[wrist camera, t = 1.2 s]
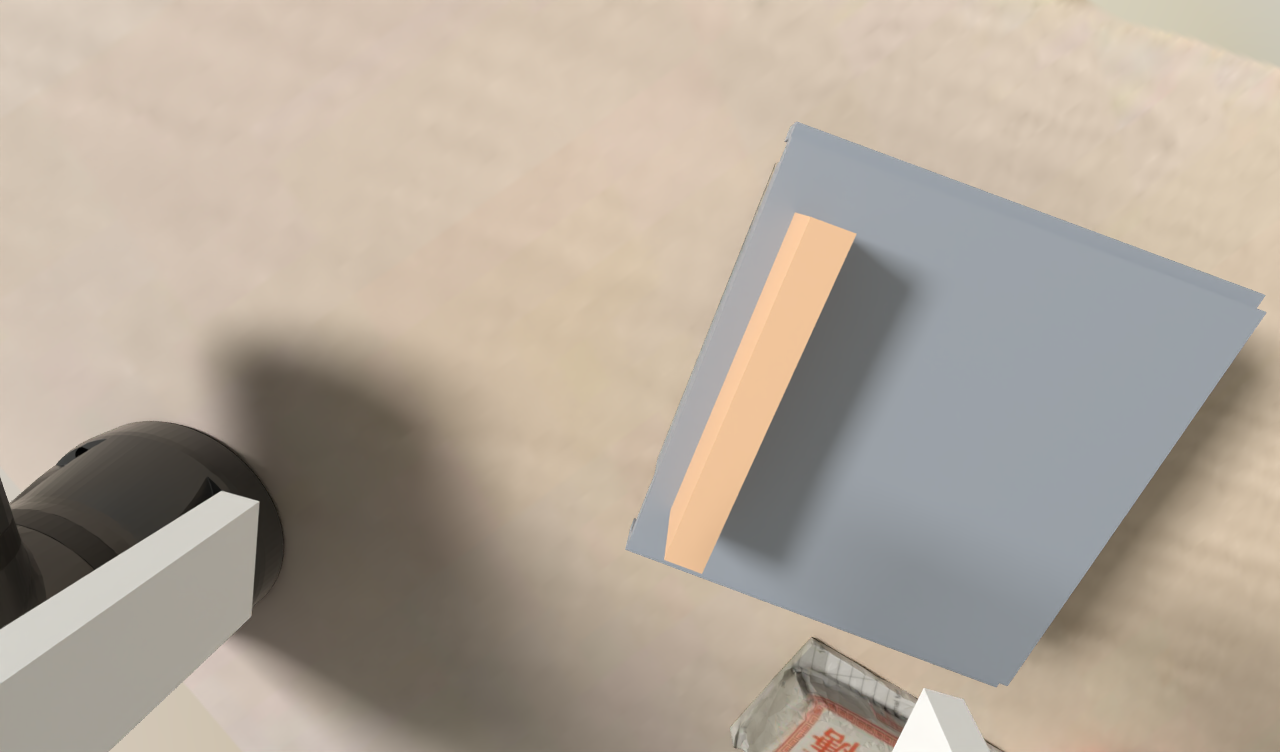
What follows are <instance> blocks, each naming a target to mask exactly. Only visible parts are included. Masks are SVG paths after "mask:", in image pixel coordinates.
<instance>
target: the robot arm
mask: <svg viewBox="0 0 1280 752" xmlns="http://www.w3.org/2000/svg"><path fill="white" fill-rule="evenodd" d="M282 559H283V534H282V528H281V524H280V520H279V517H278V514H277V511H276V509H275V506H274V504H273V502H272V500H271V498H270V496H269V494H268V493H267V491H266V489H265V488H264V486H263V485H262V483H261V482H260V481H259V479H258V478H257V477H256V475H255V474H254V473H253V472H252V471H251V469H250V468H249V467H248V466H247V465H246V464H245V463H244V462H243V461H242V460H241V459H240V458H238V457H237V456H236V455H235V454H234V453H233V452H231V451H230V450H229V449H227V448H226V447H225V446H223V445H222V444H220V443H219V442H217V441H215V440H214V439H212V438H210V437H208V436H206V435H204V434H202V433H200V432H198V431H195V430H193V429H190V428H187V427H184V426H181V425H177V424H172V423H167V422H158V421H143V422H135V423H130V424H126V425H123V426H120V427H118V428H115V429H113V430H110V431H108V432H105V433H103V434H100V435H98V436H96V437H93V438H91V439H89V440H87V441H85V442H83V443H81V444H79V445H78V446H76V447H75V448H73V449H72V450H71V451H70V452H68V453H67V454H66V455H65V456H64V457H63V458H62V459H61V460H60V461H59V462H58V463H57V464H56V465H55V466H54V467H52V468H51V469H50V470H48V471H47V472H46V473H44V474H43V475H42V476H41V477H39V478H38V479H37V480H36V481H35V482H33V483H32V484H31V485H30V486H29V487H28V488H26V489H25V490H24V491H23V492H22V493H21V494H20V495H18V496H17V497H16V498H15V499H14V500H13V501H12V502H10V503H9V502H8V499H7V496H6V493H5V491H4V487H3V484H2V482H1V478H0V752H109V751H110V750H111V749H112V748H113V747H114V746H115V745H116V744H117V743H118V742H119V741H121V740H122V739H123V738H124V737H125V736H126V735H127V734H128V733H129V732H130V731H131V730H132V729H133V728H134V727H135V726H136V725H137V724H138V723H140V722H141V721H142V720H143V719H144V718H145V717H146V716H147V715H148V714H149V713H150V712H151V711H152V710H153V709H154V708H155V707H156V706H157V705H159V704H160V703H161V702H162V701H163V700H164V699H165V698H166V697H167V696H168V695H169V694H170V693H171V692H172V691H173V690H174V689H175V688H177V687H178V686H179V685H180V684H181V683H182V682H183V681H184V680H185V679H186V678H187V677H188V676H189V675H190V674H191V673H192V672H193V671H194V670H196V669H197V668H198V667H199V666H200V665H201V664H202V663H203V662H204V661H205V660H206V659H207V658H208V657H209V656H210V655H211V654H212V653H214V652H215V651H216V650H217V649H218V648H219V647H220V646H221V645H222V644H223V643H224V642H225V641H226V640H227V639H228V638H229V637H230V636H231V635H233V634H234V633H235V632H236V631H237V630H238V629H239V628H240V627H241V626H242V625H243V624H244V623H245V622H246V621H247V620H248V619H249V618H250V617H251V616H252V607H253V606H254V605H255V604H256V603H257V602H258V601H260V600H261V599H262V598H263V597H264V596H265V595H266V594H267V593H268V591H269V590H270V589H271V587H272V586H273V584H274V583H275V581H276V579H277V577H278V574H279V571H280V569H281V565H282ZM892 752H990V750H989V748H988V746H987V744H986V742H985V740H984V738H983V736H982V734H981V732H980V731H979V729H978V727H977V725H976V723H975V721H974V719H973V717H972V715H971V713H970V711H969V709H968V707H967V705H966V703H965V701H964V699H961V698H958V697H954V696H951V695H947V694H944V693H940V692H936V691H933V690H929V689H926V688H924V689H923V691H922V693H921V695H920V697H919V699H918V701H917V703H916V705H915V707H914V709H913V711H912V713H911V715H910V717H909V719H908V721H907V723H906V725H905V727H904V729H903V731H902V733H901V735H900V737H899V739H898V741H897V743H896V745H895V747H894V749H893V751H892Z"/></svg>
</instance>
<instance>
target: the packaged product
mask: <svg viewBox="0 0 1280 752" xmlns="http://www.w3.org/2000/svg"><path fill="white" fill-rule="evenodd" d="M917 701H918V699H916V698H915V697H914V696H912V695H911V694H909V693H907V692H906V691H904V690H902V689H900V688H899V687H897V686H896V685H893V684H891V683H889V682H887V681H885V680H883V679H881V678H879V677H877V676H875V675H874V674H872V673H871V672H869V671H868V670H866V669H865V668H863V667H861V666H860V665H858V664H857V663H855V662H853V661H852V660H850V659H848V658H846V657H845V656H843V655H841V654H840V653H838V652H836V651H835V650H833V649H831V648H830V647H828V646H826V645H825V644H823V643H821V642H819V641H817V640H815V639H813V638H812V637H811V638H810V639H809V640H808V641H807V642H806V644H805V645H804V646H803V647H802V648H801V649H800V650H799V651H798V652H797V653H796V654H795V655H794V657H793V658H792V659H791V660H790V661H789V662H788V663H787V664H786V665H785V666H784V667H783V669H782V670H781V671H780V672H779V673H778V674H777V675H776V676H775V677H774V678H773V679H772V681H771V682H770V683H769V684H768V685H767V687H766V688H765V689H764V690H763V691H762V692H761V693H760V694H759V696H758V697H757V698H756V699H755V700H754V701H753V702H752V703H751V704H750V705H749V706H748V708H747V709H746V710H745V711H744V712H743V713H742V714H741V716H740V717H739V718H738V719H737V720H736V721H735V722H734V723H733V725H732V726H731V727H730V731H731V737H732V742H733V748H738V749H742V750H743V751H744V752H892V751H893V749H894V747H895V745H896V743H897V741H898V739H899V737H900V735H901V733H902V731H903V729H904V727H905V725H906V723H907V721H908V719H909V717H910V715H911V713H912V711H913V709H914V707H915V705H916V703H917ZM986 744H987V746H988V748H989V750H990V752H1003V751H1001V750H999V749H997V748H995V747H994V746H992V745H990V744H988V743H987V742H986Z"/></svg>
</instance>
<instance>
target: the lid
mask: <svg viewBox="0 0 1280 752" xmlns="http://www.w3.org/2000/svg"><path fill="white" fill-rule="evenodd" d="M785 142H787V145H786V147H785V150H784V152H783V155H782V157H781V160H780V162H779V165H778V167H777V170H776V172H775V175H774V177H773V180H772V182H771V185H770V187H769V190H768V192H767V195H766V197H765V200H764V202H763V205H762V207H761V210H760V212H759V215H758V217H757V220H756V222H755V225H754V227H753V230H752V232H751V235H750V237H749V240H748V242H747V245H746V247H745V250H744V252H743V255H742V257H741V260H740V262H739V265H738V267H737V270H736V272H735V275H734V277H733V280H732V282H731V285H730V287H729V290H728V292H727V295H726V297H725V300H724V302H723V305H722V307H721V310H720V312H719V315H718V317H717V320H716V322H715V325H714V327H713V329H712V332H711V334H710V337H709V339H708V342H707V344H706V347H705V349H704V352H703V354H702V357H701V359H700V362H699V364H698V367H697V369H696V372H695V374H694V377H693V379H692V382H691V384H690V387H689V389H688V392H687V394H686V397H685V399H684V402H683V404H682V407H681V409H680V412H679V414H678V417H677V419H676V422H675V424H674V427H673V429H672V432H671V434H670V437H669V439H668V442H667V444H666V447H665V449H664V452H663V454H662V457H661V459H660V462H659V464H658V467H657V469H656V472H655V474H654V477H653V479H652V482H651V484H650V487H649V489H648V492H647V494H646V497H645V499H644V502H643V504H642V507H641V509H640V512H639V514H638V517H637V519H635V518H634V520H633V523H632V525H631V528H630V532H629V536H628V540H627V545H626V549H625V550H628V551H630V552H633V553H636V554H639V555H641V556H644V557H647V558H649V559H652V560H655V561H657V562H660V563H663V564H665V565H668V566H671V567H673V568H676V569H679V570H682V571H684V572H687V573H690V574H692V575H695V576H698V577H700V578H703V579H706V580H708V581H711V582H714V583H717V584H719V585H722V586H725V587H727V588H730V589H733V590H735V591H738V592H741V593H743V594H746V595H749V596H752V597H754V598H757V599H760V600H762V601H765V602H768V603H770V604H773V605H776V606H778V607H781V608H784V609H786V610H789V611H792V612H795V613H797V614H800V615H803V616H805V617H808V618H811V619H813V620H816V621H819V622H821V623H824V624H827V625H830V626H832V627H835V628H838V629H840V630H843V631H846V632H848V633H851V634H854V635H856V636H859V637H862V638H864V639H867V640H870V641H873V642H875V643H878V644H881V645H883V646H886V647H889V648H891V649H894V650H897V651H899V652H902V653H905V654H908V655H910V656H913V657H916V658H918V659H921V660H924V661H926V662H929V663H932V664H934V665H937V666H940V667H943V668H945V669H948V670H951V671H953V672H956V673H959V674H961V675H964V676H967V677H969V678H972V679H975V680H977V681H980V682H983V683H986V684H988V685H991V686H994V687H997V686H998V684H999V683H1000V684H1003V685H1006V686H1008V685H1009V683H1010V682H1011V680H1012V679H1013V677H1014V676H1015V675H1016V673H1017V672H1018V670H1019V669H1020V667H1021V666H1022V664H1023V663H1024V662H1025V660H1026V659H1027V657H1028V656H1029V654H1030V653H1031V651H1032V650H1033V649H1034V647H1035V646H1036V644H1037V643H1038V641H1039V640H1040V639H1041V637H1042V636H1043V634H1044V633H1045V631H1046V630H1047V628H1048V627H1049V626H1050V624H1051V623H1052V621H1053V620H1054V618H1055V617H1056V615H1057V614H1058V613H1059V611H1060V610H1061V608H1062V607H1063V605H1064V604H1065V602H1066V601H1067V600H1068V598H1069V597H1070V595H1071V594H1072V592H1073V591H1074V589H1075V588H1076V587H1077V585H1078V584H1079V582H1080V581H1081V579H1082V578H1083V577H1084V575H1085V574H1086V572H1087V571H1088V569H1089V568H1090V566H1091V565H1092V564H1093V562H1094V561H1095V559H1096V558H1097V556H1098V555H1099V553H1100V552H1101V551H1102V549H1103V548H1104V546H1105V545H1106V543H1107V542H1108V540H1109V539H1110V538H1111V536H1112V535H1113V533H1114V532H1115V530H1116V529H1117V527H1118V526H1119V525H1120V523H1121V522H1122V520H1123V519H1124V517H1125V516H1126V515H1127V513H1128V512H1129V510H1130V509H1131V507H1132V506H1133V504H1134V503H1135V502H1136V500H1137V499H1138V497H1139V496H1140V494H1141V493H1142V491H1143V490H1144V489H1145V487H1146V486H1147V484H1148V483H1149V481H1150V480H1151V478H1152V477H1153V476H1154V474H1155V473H1156V471H1157V470H1158V468H1159V467H1160V465H1161V464H1162V463H1163V461H1164V460H1165V458H1166V457H1167V455H1168V454H1169V453H1170V451H1171V450H1172V448H1173V447H1174V445H1175V444H1176V442H1177V441H1178V440H1179V438H1180V437H1181V435H1182V434H1183V432H1184V431H1185V429H1186V428H1187V427H1188V425H1189V424H1190V422H1191V421H1192V419H1193V418H1194V416H1195V415H1196V414H1197V412H1198V411H1199V409H1200V408H1201V406H1202V405H1203V403H1204V402H1205V401H1206V399H1207V398H1208V396H1209V395H1210V393H1211V392H1212V391H1213V389H1214V388H1215V386H1216V385H1217V383H1218V382H1219V380H1220V379H1221V378H1222V376H1223V375H1224V373H1225V372H1226V370H1227V369H1228V367H1229V366H1230V365H1231V363H1232V362H1233V360H1234V359H1235V357H1236V356H1237V354H1238V353H1239V352H1240V350H1241V349H1242V347H1243V346H1244V344H1245V343H1246V341H1247V340H1248V339H1249V337H1250V336H1251V334H1252V333H1253V331H1254V330H1255V329H1256V327H1257V326H1258V324H1259V323H1260V321H1261V320H1262V318H1263V317H1264V316H1265V314H1266V313H1267V312H1265V311H1262V310H1259V309H1257V307H1258V306H1259V304H1260V303H1261V301H1262V300H1263V298H1264V297H1265V295H1264V294H1261V293H1258V292H1256V291H1253V290H1250V289H1248V288H1245V287H1242V286H1239V285H1237V284H1234V283H1231V282H1229V281H1226V280H1223V279H1220V278H1218V277H1215V276H1212V275H1210V274H1207V273H1204V272H1202V271H1199V270H1196V269H1193V268H1191V267H1188V266H1185V265H1183V264H1180V263H1177V262H1175V261H1172V260H1169V259H1166V258H1164V257H1161V256H1158V255H1156V254H1153V253H1150V252H1148V251H1145V250H1142V249H1139V248H1137V247H1134V246H1131V245H1129V244H1126V243H1123V242H1121V241H1118V240H1115V239H1112V238H1110V237H1107V236H1104V235H1102V234H1099V233H1096V232H1094V231H1091V230H1088V229H1085V228H1083V227H1080V226H1077V225H1075V224H1072V223H1069V222H1066V221H1064V220H1061V219H1058V218H1056V217H1053V216H1050V215H1048V214H1045V213H1042V212H1039V211H1037V210H1034V209H1031V208H1029V207H1026V206H1023V205H1021V204H1018V203H1015V202H1012V201H1010V200H1007V199H1004V198H1002V197H999V196H996V195H994V194H991V193H988V192H985V191H983V190H980V189H977V188H975V187H972V186H969V185H967V184H964V183H961V182H958V181H956V180H953V179H950V178H948V177H945V176H942V175H939V174H937V173H934V172H931V171H929V170H926V169H923V168H921V167H918V166H915V165H912V164H910V163H907V162H904V161H902V160H899V159H896V158H894V157H891V156H888V155H885V154H883V153H880V152H877V151H875V150H872V149H869V148H867V147H864V146H861V145H858V144H856V143H853V142H850V141H848V140H845V139H842V138H840V137H837V136H834V135H831V134H829V133H826V132H823V131H821V130H818V129H815V128H812V127H810V126H807V125H804V124H802V123H799V122H796V123H795V124H793V125H792V126H791V127H790V129H789V132H788V134H787V137H786V139H785Z"/></svg>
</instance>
